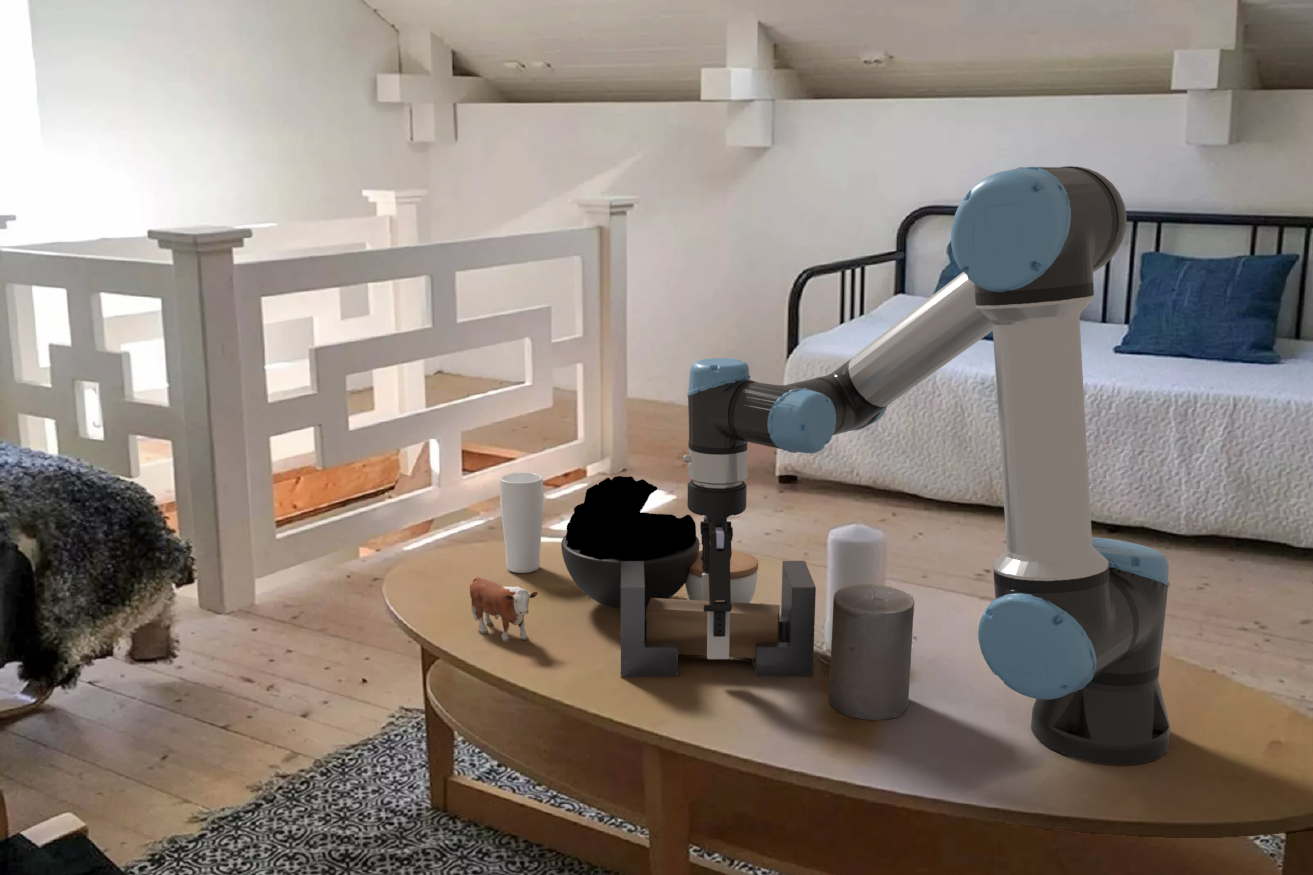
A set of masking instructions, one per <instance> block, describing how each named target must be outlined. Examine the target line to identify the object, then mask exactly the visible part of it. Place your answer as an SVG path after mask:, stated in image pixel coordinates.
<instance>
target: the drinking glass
mask: <svg viewBox="0 0 1313 875" xmlns="http://www.w3.org/2000/svg"><path fill="white" fill-rule="evenodd" d="M543 480H544V478H543V476H542V475H541V474H538V473H534V472H524V471H523V472H512V473H507V474H504V475H502V476H500V478H499V483H500V484H499V503H500V513H501V523H502V532H503V539H504V540H503V541H504V551H505V566H506V569H507V570H508V571H509V572H512V573H515V574H527V573H533V572H535V571H538V569H539V568H540V566H541V544H542V542H541V541H542V529H543V528H542V527H543V514H544V481H543Z"/></svg>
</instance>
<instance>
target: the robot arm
mask: <svg viewBox="0 0 1313 875" xmlns="http://www.w3.org/2000/svg"><path fill="white" fill-rule="evenodd" d="M1127 220H1128V219H1127V211H1126V205H1125V203H1124V200H1123V198H1122V195H1121V193H1120V192H1119V190H1118V189H1117V187H1116V186H1115V185H1114V184H1113V183H1112V182H1111V181H1110V180H1109V179H1108V178H1107V177H1106V176H1104V175H1102V174H1101V173H1099V172H1097V171H1096V170H1093V169H1090V168H1087V167H1082V166H1070V165H1069V166H1060V167H1059V166H1058V167H1057V166H1056V167H1055V166H1054V167H1053V166H1028V167H1026V166H1024V167H1023V166H1019V167H1015V168H1013V169H1008V170H1003V171H998V172H996V173H993V174H990V175H989V176H986V177H985V178H983V179H980V181H979V182H977V183H976V184H975V185H974V186H972V187H971V189H970V190H969V191H968V192H967V193H966V194H965V196H964V197H963V198H962V200H961V201H960V203H959V205H958V207H957V209H956V211H955V214H954V217H953V220H952V225H951V232H950V243H951V244H950V246H951V250H952V254H953V258H954V260H955V263H956V265H957V267H958V269H959V270H960V271H961V273H959V274H958V275H957V276H956V277H954V278H953V279H951V281H950V282H948V283H947V284H946V285H944V286H943V287H941V288H940V289H939V290H938V291H937V292H935V293H934V294H933V295H931V296H929V297H928V298H927V299H926V300H925V301H923V302H922V303H921V304H920V305H918V306H917V307H916V308H915V309H913V310H912V311H910V312H909V313H908V314H906V315H905V316H903V317H902V318H901V319H900V320H899V321H897V322H896V323H895V324H894V325H892V326H891V327H890V328H888V329H887V330H886V331H885V332H883V333H882V334H881V335H879V336H878V337H877V338H875V339H874V340H872V342H870V343H869V344H868V345H866V346H865V347H864V348H862V349H861V350H860V351H858V352H857V353H856V354H855V355H854V356H852V357H851V358H850V359H849V360H847V361H846V362H844V363H843V364H842V365H841V366H839V367H838V368H837V369H835V370H834V371H832V372H831V373H829V374H827V375H824V376H823V375H822V376H819V377H814V378H811V379H807V380H802V381H797V382H792V383H787V384H772V383H764V382H759V381H754V380H751V375H750V366H749V364H748V363H747V362H746V361H743V360H741V359H737V358H729V357H728V358H727V357H716V358H715V357H714V358H704V359H699V360H697V361H696V362H694V363H693V364H692V365H691V367H690V370H689V381H688V392H687V393H686V394H687V404H688V405H687V406H688V443H687V444H688V446H687V447H688V453H689V454H684V456H683V459H682V460H683V462H684V463H688V465H687V466H688V469H687V470H688V471H687V473H688V474H687V475H688V476H687V477H688V478H689V479H690V481H688V483H687V503H686V504H687V509H688V510H689V511H690V512H691V513H692V514H695V515H699V516H703V521H700V525H699V528H700V534H701V536H700V537H701V545H702V548H701V549H702V550H701V551H702V556H701V560H702V563H703V564H702V569H703V571H706V573H702V601H709V605H704V612H708V636H707V655H706V657H707V660H730V657H729V633H730V612H731V609H732V605H731V586H730V559H731V555H732V550H733V549H732V541H733V536H734V528H733V527H732V521H731V520H730V521H728V518H729V517H732V516H737V515H740V514H743V513H744V512H745V511H746V509H747V494H748V492H747V490H748V489H747V488H748V487H747V484H746V482H745V480H747V478H748V465H749V464H748V462H749V461H748V459H749V457H748V456H749V448H748V443H751V444H755V445H761V446H764V447H769V448H773V449H779V450H782V451H784V452H788V453H794V454H796V453H802V454H816V453H818V452H821V451H822V450H823V449H824V448H825V445H827V444H829V443H830V442H831V440H832V438H833V436H836V435H840V434H843V433H848V432H851V431H858V430H862V429H865V428H866V427H868V426H870V425H872V424H875V423H876V422H878V421H879V420H880V419H881V418H882V417H883V416H884V414H885V412H886V410H887V408H888V406H889V405H890V404H892V403H894V402H895V401H896V400H898V399H899V398H901V397H902V396H903V395H905V394H907V392H909V391H911V389H914V387H917V385H919V384H920V383H921V382H923V381H924V380H926V379H927V378H929V377H930V376H931V375H933V374H934V373H936V372H937V371H938V370H940V369H941V368H942V367H944V366H945V365H947V364H948V363H950V362H951V361H952V360H953V359H955V358H957V357H958V356H959V355H962V353H964V352H965V351H967V350H968V349H969V348H971V347H973V346H974V345H975V344H977V343H978V342H979V341H980V340H982V339H983V338H984V337H986V336H988V335H990V333H992V339H993V354H994V366H995V367H994V368H995V370H994V371H995V384H996V385H995V386H996V399H997V400H996V401H997V415H998V416H997V417H998V430H999V431H998V432H999V446H1000V461H1001V462H1000V464H1001V476H1002V477H1001V478H1002V479H1001V480H1002V491H1003V492H1002V494H1003V506H1004V507H1003V510H1004V511H1003V512H1004V523H1005V526H1004V527H1005V540H1006V541H1005V543H1006V549H1005V550H1004V552H1003V553H1002V554H1001V555H999V557H998V558H997V559H996V561H995V562H993V566H992V567H993V584H994V586H993V587H994V599H993V600H992V601H991V602H990V604H989V605H988V606H987V608H985V609H984V610H985V611H984V612H983V613H982V616H980V621H979V623H978V629H977V630H978V634H977V636H978V637H977V638H978V644H979V647H980V652H981V654H982V656H983V659H984V661H985V663H986V664H987V666H988V667H989V669H990V670H991V672H992V673H993V675H995V676H997V677H999V679H1000V681H1002V682H1003V684H1004V685H1005V686H1006V687H1008V688H1009V689H1011V690H1012V691H1014V692H1016V693H1018V694H1020V695H1022V696H1025V697H1027V698H1031V699H1034V700H1035V701H1034V702H1033V703H1034V704H1033V706H1032V709H1031V710H1032V711H1031V722H1030V723H1031V724H1030V729H1031V731H1032V734H1033V735H1034V736H1035V737H1036V739H1037V740H1038V741H1039V742H1040V743H1042V744H1044V745H1045V746H1047V747H1048V748H1049V749H1051V750H1053V751H1056V752H1058V753H1060V754H1063V755H1065V756H1069V757H1071V758H1074V759H1078V760H1081V761H1086V762H1091V763H1097V764H1103V765H1118V766H1119V765H1123V766H1125V765H1138V764H1143V763H1149V762H1151V761H1155V760H1157V759H1159V758H1161V757H1162V756H1164V755H1165V754H1166V753H1167V752H1168V749H1169V746H1170V738H1171V737H1170V736H1171V725H1170V720H1169V716H1168V713H1167V708H1166V705H1165V701H1164V697H1163V693H1162V688H1161V685H1160V681H1159V680H1160V679H1159V678H1160V677H1159V676H1160V666H1161V656H1162V650H1163V649H1162V648H1163V639H1164V638H1163V637H1164V629H1165V620H1166V612H1167V602H1168V599H1167V598H1168V590H1169V587H1170V585H1171V583H1170V580H1169V570H1170V569H1169V567H1170V565H1169V561H1168V558H1167V557H1166V556H1165V555H1164V554H1163V553H1162V552H1160V551H1158V550H1156V549H1154V548H1152V547H1148V546H1145V545H1142V544H1139V543H1138V544H1137V543H1135V542H1134V543H1133V542H1131V541H1130V542H1129V541H1126V540H1125V541H1124V540H1119V539H1113V538H1104V537H1103V538H1102V537H1093V536H1092V520H1091V519H1092V518H1091V501H1090V500H1091V499H1090V484H1089V483H1090V482H1089V464H1088V447H1087V430H1086V412H1085V411H1086V409H1085V393H1084V392H1085V391H1084V375H1083V374H1084V373H1083V359H1082V358H1083V357H1082V354H1083V353H1082V340H1081V339H1082V337H1081V320H1080V316H1081V314H1082V312H1083V311H1084V310H1085V309H1086V308H1087V307H1088V305H1090V304H1091V302H1092V301H1093V300H1094V299H1095V289H1094V287H1095V286H1094V273H1095V272H1096V271H1099V270H1100V269H1101V268H1102V267H1104V266H1105V265H1107V264H1108V262H1109V261H1111V259H1112V258H1114V256H1115V255H1116V253H1117V252H1118V250H1119V248H1120V247H1121V245H1122V243H1123V240H1124V237H1125V235H1126V231H1127V230H1126V228H1127ZM722 600H725V602H722ZM715 601H718V602H715Z"/></svg>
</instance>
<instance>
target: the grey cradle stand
mask: <svg viewBox="0 0 1313 875" xmlns="http://www.w3.org/2000/svg"><path fill="white" fill-rule="evenodd" d="M781 566H782V569H781V572H782V573H781V604H780V606H781V607H780V616H779V643H756V651H755V658H751V660H752V665H753V669H754V673H755V677H757V678H759V677H761V678H762V677H763V678H765V677H766V678H767V677H773V678H775V677H781V678H782V677H783V678H784V677H788V678H789V677H791V678H792V677H814V657H815V656H814V653H815V651H814V650H815V647H814V646H815V622H816V621H815V620H816V618H815V617H816V594H817V593H816V591H817V590H816V589H817V586H816V584H815V581H814V580H813V579H814V578H813V576H812V574H811V572H810V569H809V567H808V564H807V563H806V560H782V563H781ZM645 611H646V609H645V583H644V561H621V610H620V678H678V677H679V672H678V671H679V654H678V643H646V617H645V615H646V614H645V613H646V612H645Z"/></svg>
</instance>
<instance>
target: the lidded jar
mask: <svg viewBox="0 0 1313 875" xmlns="http://www.w3.org/2000/svg"><path fill="white" fill-rule="evenodd" d="M701 556H702V550H699V553H698V558H697V560H696V561H695V563H694V564H693V565H691V566H690V569H689V575H688V577H687V580H686V583H685V584H684V585H685V586H684V587H685V590H686V594H687V596H688V600H700V601H702V573H706V571H703V569H702V564H703V563H702V560H701ZM758 570H759V560H758V559H757V558H756V556H754V555H752V554H750V553H747V552H744V551H742V550H741V551H740V550H734V549H732V555H731V559H730V586H731V602H737V603H751V601H752V600H753V598H754V595H755V593H756V592H755V591H756V588H757V582H758ZM722 602H725V600H722Z"/></svg>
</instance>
